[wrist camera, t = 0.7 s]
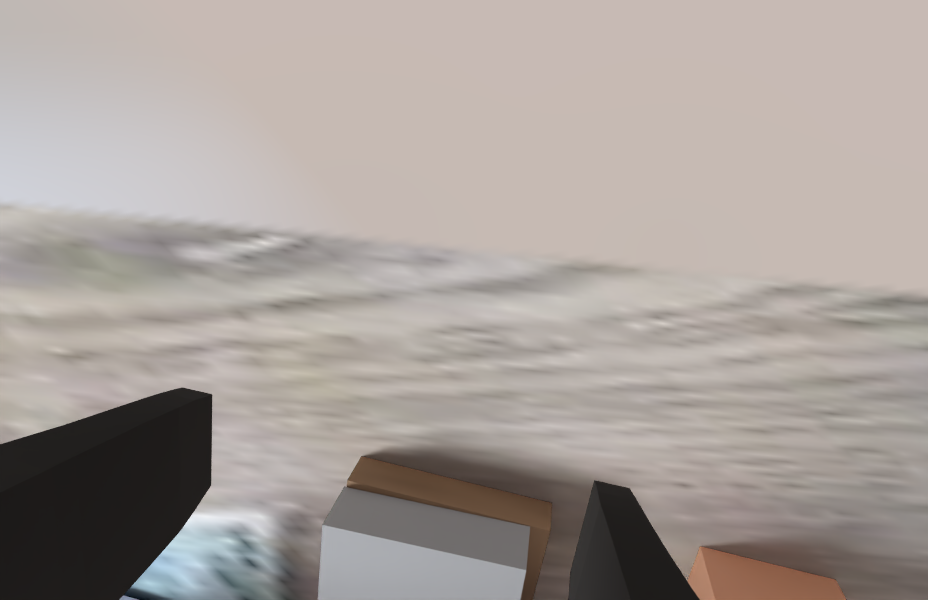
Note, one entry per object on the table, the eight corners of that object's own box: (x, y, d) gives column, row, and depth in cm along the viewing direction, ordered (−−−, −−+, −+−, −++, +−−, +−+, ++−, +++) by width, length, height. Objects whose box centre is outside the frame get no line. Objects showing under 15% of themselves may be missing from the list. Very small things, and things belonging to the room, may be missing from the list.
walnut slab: (515, 639, 24) (510, 683, 23) (347, 593, 25) (329, 633, 23) (552, 494, 22) (550, 530, 20) (366, 448, 23) (347, 480, 21)
